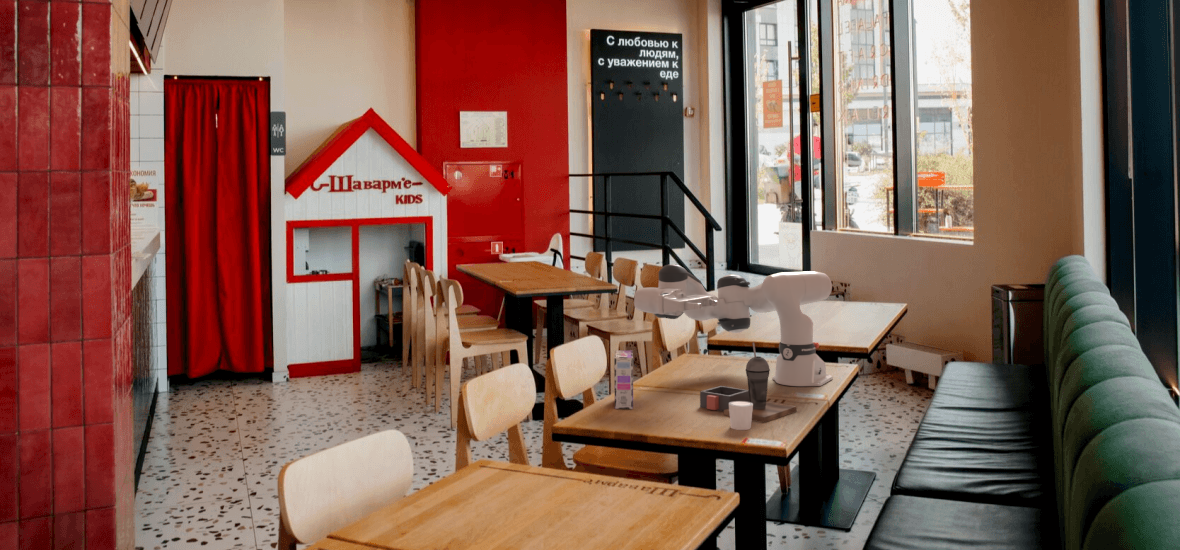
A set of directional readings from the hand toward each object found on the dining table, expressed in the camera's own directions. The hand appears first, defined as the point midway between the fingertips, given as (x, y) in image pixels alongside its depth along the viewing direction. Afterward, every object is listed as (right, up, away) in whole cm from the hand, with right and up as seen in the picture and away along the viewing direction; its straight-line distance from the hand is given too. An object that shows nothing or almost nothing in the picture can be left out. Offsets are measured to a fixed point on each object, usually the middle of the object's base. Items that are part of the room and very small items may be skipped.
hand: (708, 304), depth 291 cm
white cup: (+5, -34, -33) cm, 48 cm away
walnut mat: (+14, -32, -17) cm, 39 cm away
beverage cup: (+13, -31, -16) cm, 37 cm away
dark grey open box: (+4, -32, -8) cm, 33 cm away
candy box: (-27, -32, -3) cm, 42 cm away
